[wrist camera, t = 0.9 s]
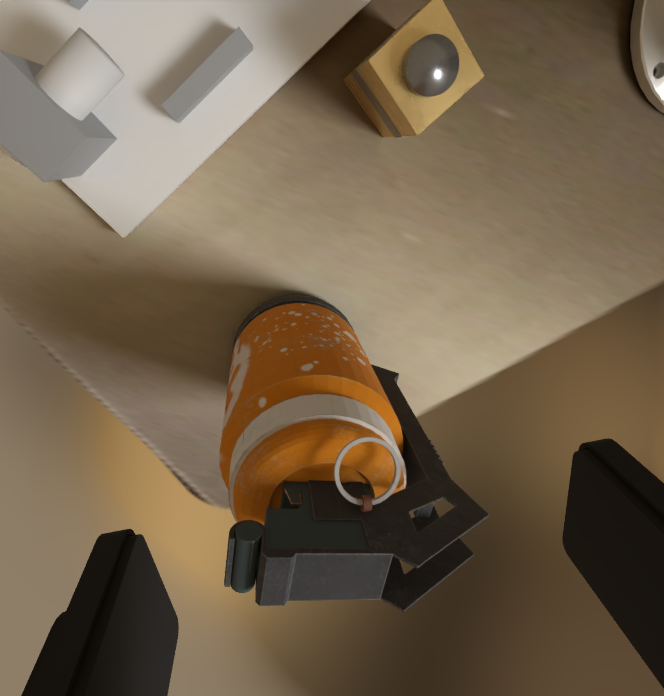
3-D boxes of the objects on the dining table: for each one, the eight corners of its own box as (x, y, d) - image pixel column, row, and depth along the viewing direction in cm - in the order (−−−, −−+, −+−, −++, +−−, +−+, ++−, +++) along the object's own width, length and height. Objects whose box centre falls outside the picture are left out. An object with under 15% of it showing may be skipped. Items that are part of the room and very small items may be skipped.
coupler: (395, 28, 26) (445, -14, 19) (434, 91, 28) (493, 73, 21) (342, 79, 27) (371, 56, 20) (382, 138, 29) (422, 135, 22)
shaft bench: (218, -261, 21) (203, -411, 15) (375, -5, 26) (407, -46, 20) (-57, 60, 24) (-153, 34, 18) (128, 234, 29) (96, 256, 23)
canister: (238, 284, 31) (209, 481, 13) (393, 302, 33) (552, 492, 15) (228, 399, 34) (194, 680, 16) (369, 408, 37) (476, 666, 19)
